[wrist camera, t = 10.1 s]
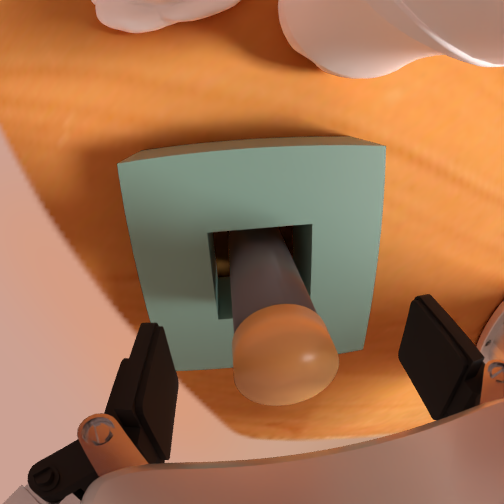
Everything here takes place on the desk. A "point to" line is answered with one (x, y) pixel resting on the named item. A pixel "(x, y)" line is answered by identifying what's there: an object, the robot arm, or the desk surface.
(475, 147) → the desk surface
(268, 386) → the round peg
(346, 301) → the socket block
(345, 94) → the desk surface
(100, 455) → the robot arm
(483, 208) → the desk surface
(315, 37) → the water bottle
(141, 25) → the rose
